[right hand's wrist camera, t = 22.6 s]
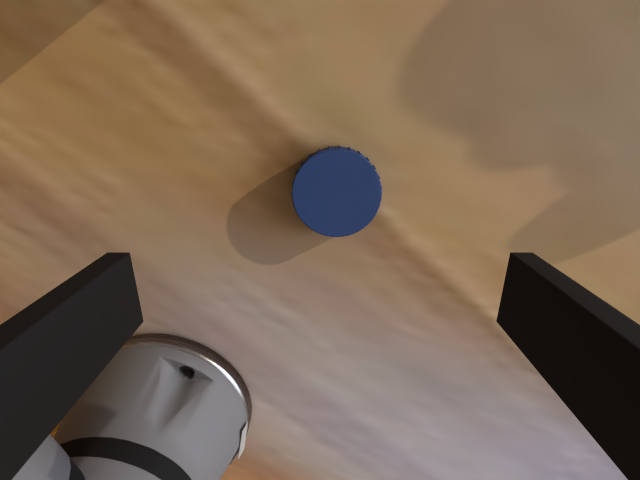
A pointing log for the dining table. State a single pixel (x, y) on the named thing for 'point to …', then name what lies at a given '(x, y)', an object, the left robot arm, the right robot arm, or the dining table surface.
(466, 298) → the dining table surface
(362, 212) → the lid
